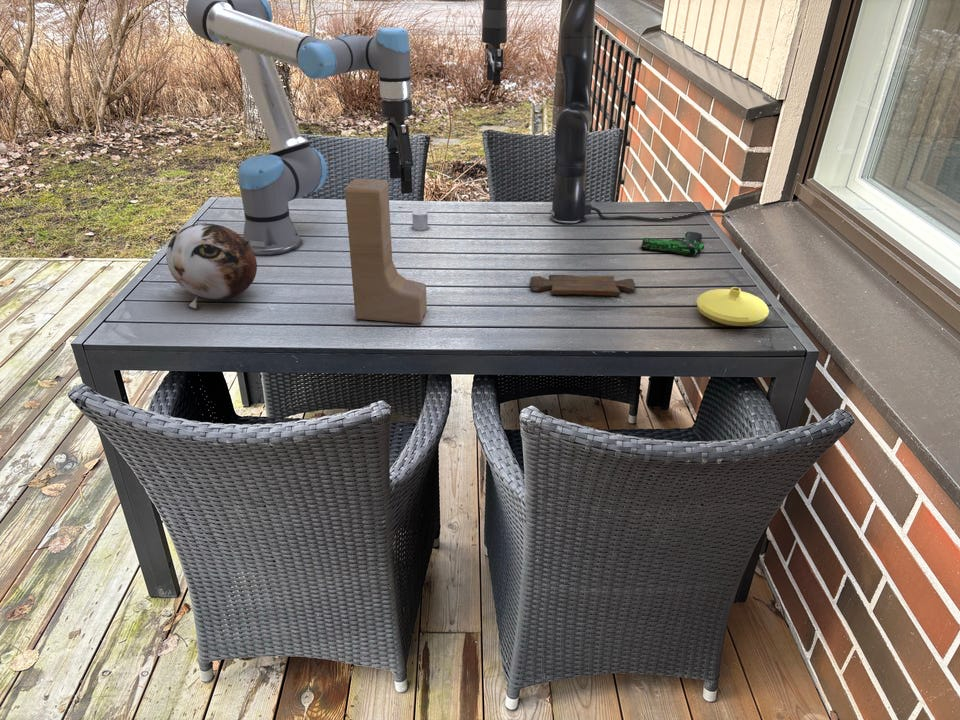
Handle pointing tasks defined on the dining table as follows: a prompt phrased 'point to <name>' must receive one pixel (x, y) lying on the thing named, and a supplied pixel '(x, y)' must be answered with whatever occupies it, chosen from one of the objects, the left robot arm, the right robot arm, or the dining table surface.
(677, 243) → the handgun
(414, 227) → the can
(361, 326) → the dining table surface
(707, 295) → the yellow lid
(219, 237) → the plush toy
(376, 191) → the decorative block
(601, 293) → the wooden paddle board
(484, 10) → the right robot arm
